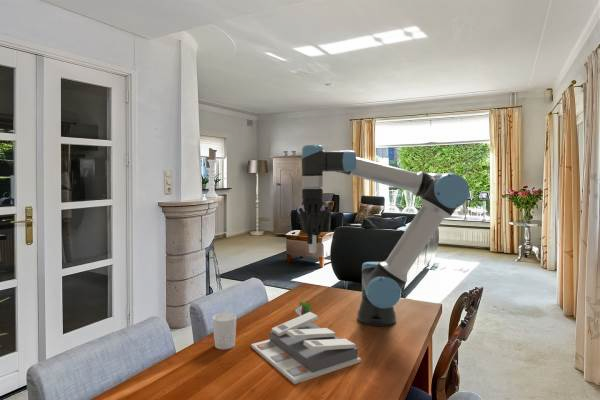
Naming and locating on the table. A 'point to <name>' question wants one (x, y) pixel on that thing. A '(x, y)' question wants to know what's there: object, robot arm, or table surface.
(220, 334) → the white cup
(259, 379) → the table surface
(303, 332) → the bar
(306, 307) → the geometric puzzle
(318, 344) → the rocker
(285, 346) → the switch unit
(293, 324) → the rocker
